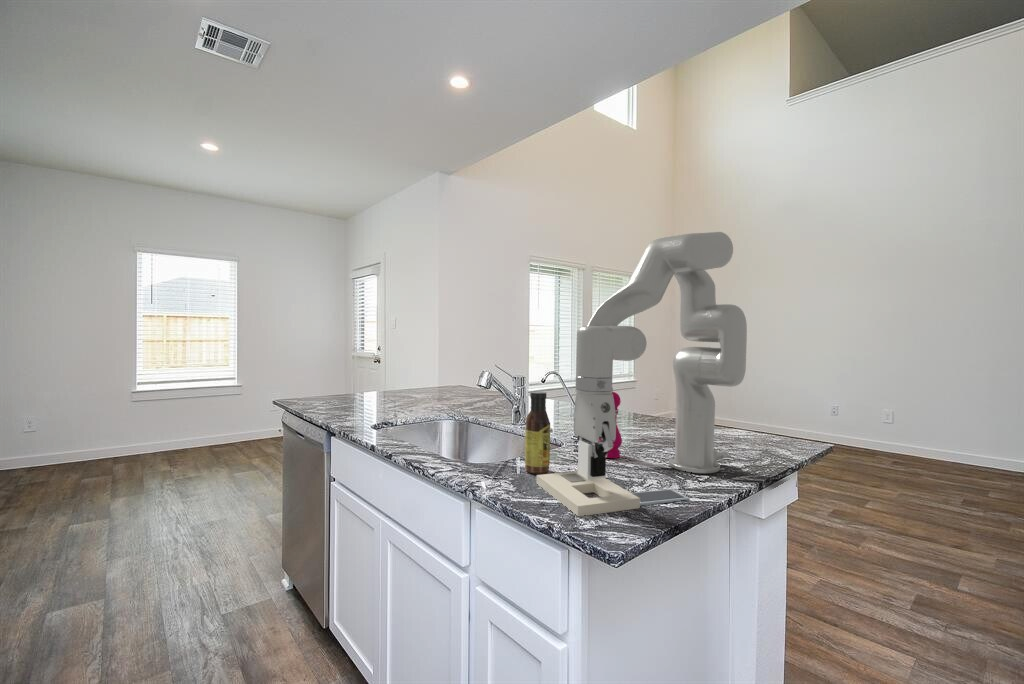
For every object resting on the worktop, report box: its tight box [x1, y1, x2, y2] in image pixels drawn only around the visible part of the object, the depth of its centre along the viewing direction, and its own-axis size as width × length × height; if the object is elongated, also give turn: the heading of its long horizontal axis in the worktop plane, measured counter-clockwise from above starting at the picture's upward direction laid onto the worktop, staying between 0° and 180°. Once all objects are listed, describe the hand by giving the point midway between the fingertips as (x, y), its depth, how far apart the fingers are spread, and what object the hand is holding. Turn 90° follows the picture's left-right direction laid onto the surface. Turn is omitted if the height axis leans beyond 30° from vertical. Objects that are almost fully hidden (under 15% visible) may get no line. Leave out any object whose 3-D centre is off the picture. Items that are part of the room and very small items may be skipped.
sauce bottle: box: [524, 391, 551, 475], centre depth 117 cm, size 6×6×20 cm
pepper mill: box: [599, 386, 623, 459], centre depth 133 cm, size 7×7×20 cm
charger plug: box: [577, 440, 607, 480], centre depth 98 cm, size 4×4×7 cm
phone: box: [631, 488, 690, 506], centre depth 100 cm, size 12×6×1 cm, turn 107°
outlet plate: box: [536, 470, 641, 517], centre depth 101 cm, size 14×20×2 cm
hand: (591, 471), depth 98 cm, fingers closed on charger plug, 4 cm apart
